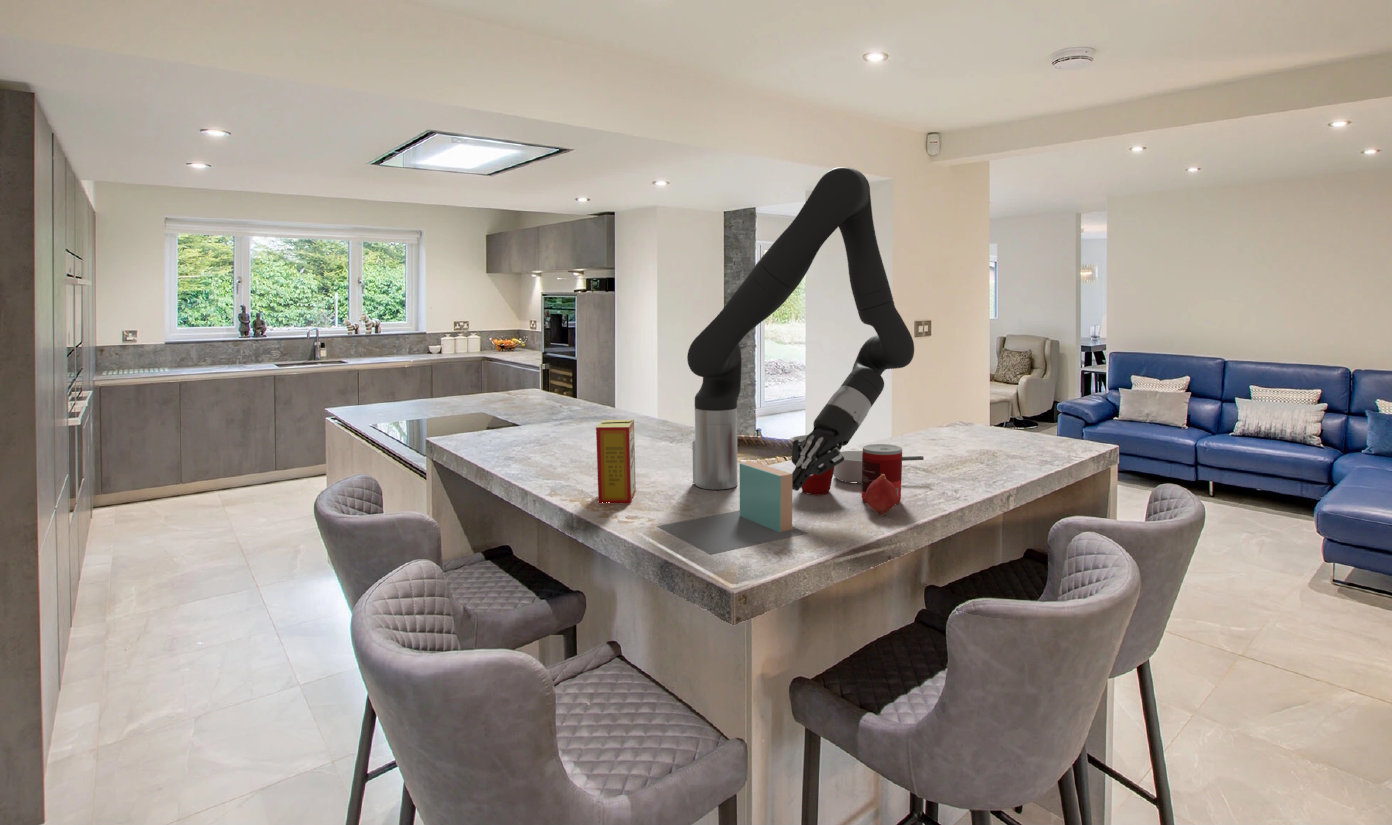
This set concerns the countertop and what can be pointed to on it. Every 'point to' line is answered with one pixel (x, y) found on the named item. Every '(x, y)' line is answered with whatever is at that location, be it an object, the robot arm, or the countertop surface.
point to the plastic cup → (816, 477)
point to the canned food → (881, 466)
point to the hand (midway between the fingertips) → (791, 487)
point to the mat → (725, 532)
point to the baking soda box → (616, 461)
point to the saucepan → (856, 466)
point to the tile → (766, 496)
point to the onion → (881, 495)
